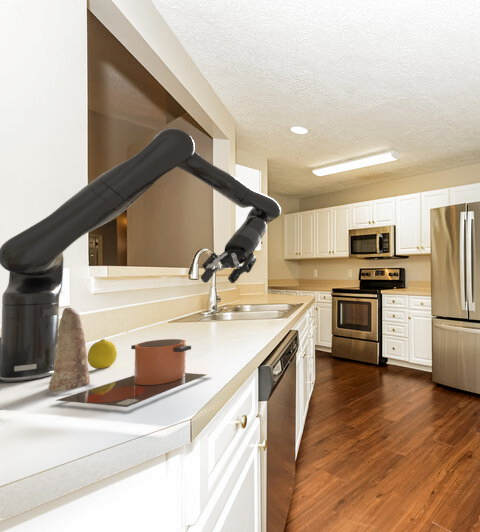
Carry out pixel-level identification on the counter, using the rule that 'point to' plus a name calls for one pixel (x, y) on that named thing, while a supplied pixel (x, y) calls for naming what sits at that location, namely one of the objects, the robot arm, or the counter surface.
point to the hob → (126, 392)
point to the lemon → (102, 354)
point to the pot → (159, 361)
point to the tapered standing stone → (70, 354)
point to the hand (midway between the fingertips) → (217, 280)
